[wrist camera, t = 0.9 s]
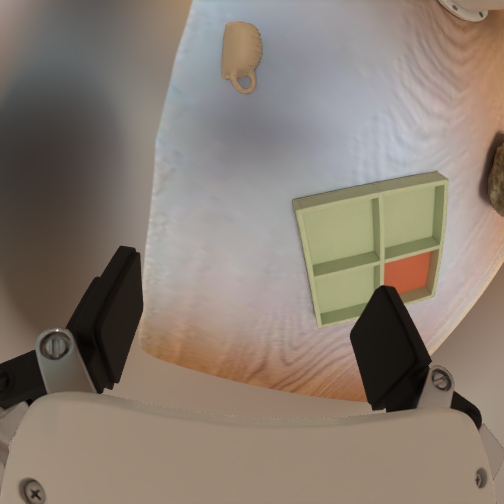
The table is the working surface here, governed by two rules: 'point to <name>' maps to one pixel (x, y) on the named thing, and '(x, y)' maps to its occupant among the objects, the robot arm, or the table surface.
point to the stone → (497, 181)
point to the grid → (372, 243)
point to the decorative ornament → (241, 53)
